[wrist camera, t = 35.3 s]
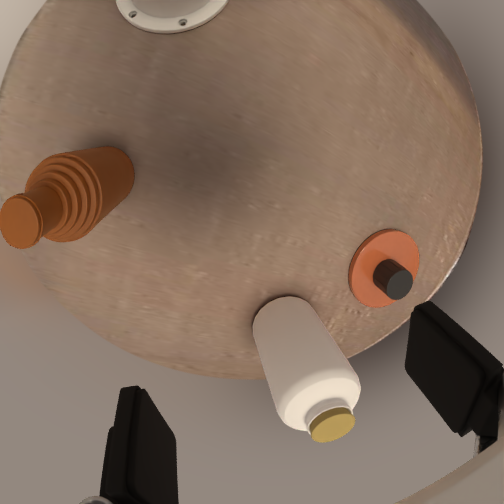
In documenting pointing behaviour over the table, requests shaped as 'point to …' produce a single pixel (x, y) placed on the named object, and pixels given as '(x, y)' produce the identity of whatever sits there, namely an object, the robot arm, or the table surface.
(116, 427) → the robot arm
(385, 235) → the orange round coaster
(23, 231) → the sauce bottle
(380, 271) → the cap
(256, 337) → the potion bottle
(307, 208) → the table surface
